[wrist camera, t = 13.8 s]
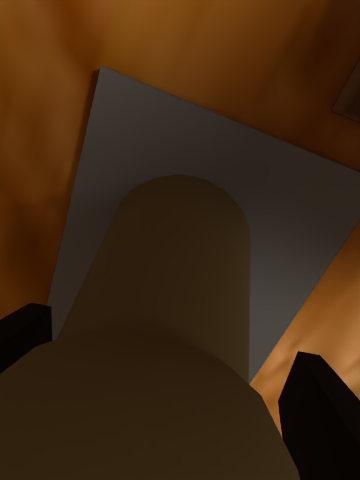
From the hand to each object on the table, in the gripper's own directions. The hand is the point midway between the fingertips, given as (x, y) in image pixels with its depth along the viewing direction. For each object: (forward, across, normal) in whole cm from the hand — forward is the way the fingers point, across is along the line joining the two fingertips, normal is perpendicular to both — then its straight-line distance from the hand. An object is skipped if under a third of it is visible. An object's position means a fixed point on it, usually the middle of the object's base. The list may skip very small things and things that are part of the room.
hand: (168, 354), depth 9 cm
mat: (+5, 0, 0) cm, 5 cm away
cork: (+5, 0, -1) cm, 5 cm away
